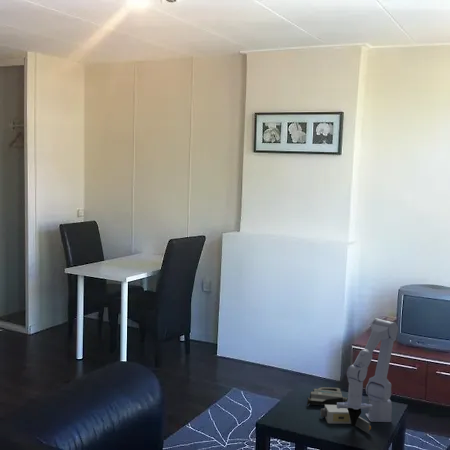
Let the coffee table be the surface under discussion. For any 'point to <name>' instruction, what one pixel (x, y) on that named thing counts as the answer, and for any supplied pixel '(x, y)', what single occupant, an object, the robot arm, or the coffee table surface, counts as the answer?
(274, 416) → the coffee table surface
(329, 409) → the camera case
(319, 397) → the camcorder
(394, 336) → the robot arm
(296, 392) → the coffee table surface
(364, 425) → the side door
